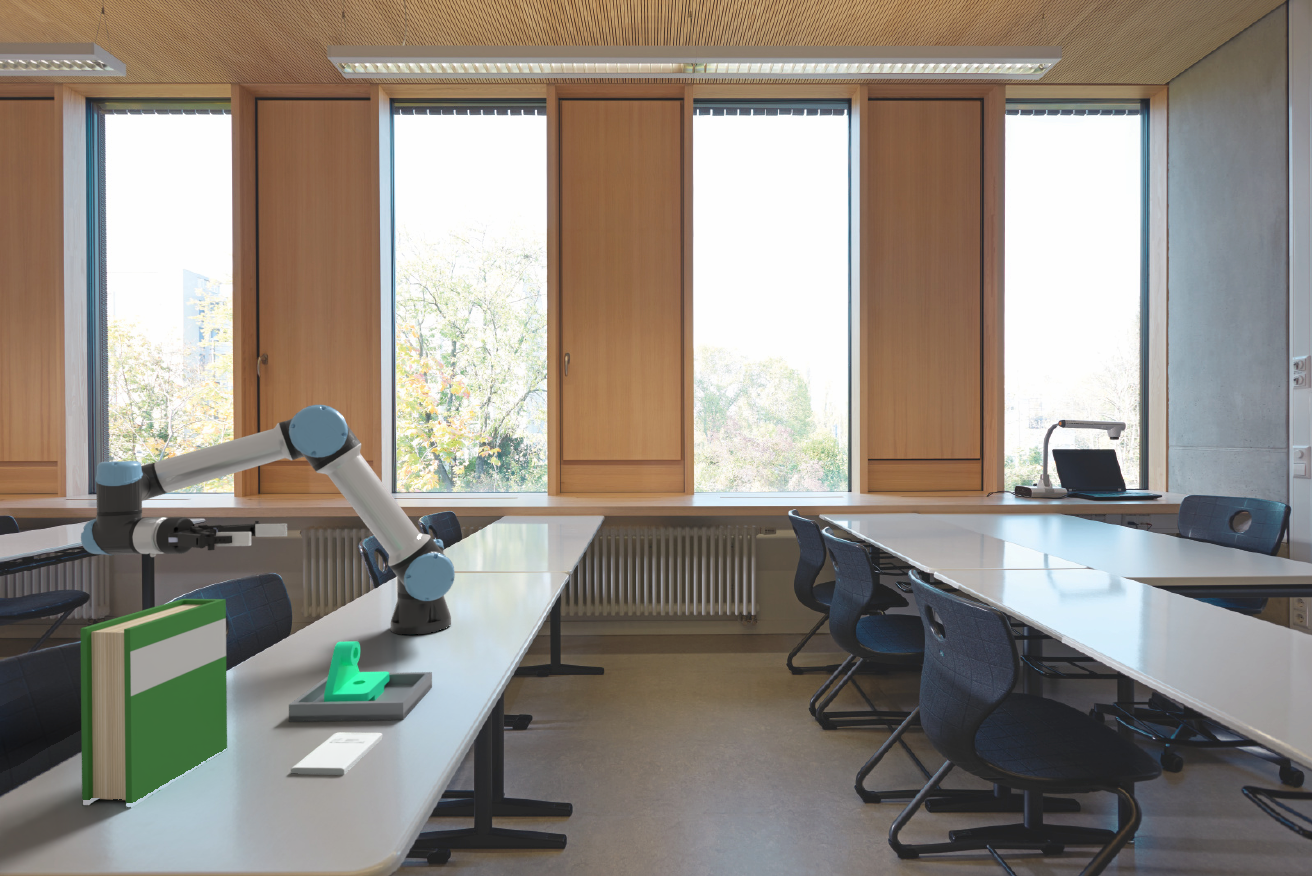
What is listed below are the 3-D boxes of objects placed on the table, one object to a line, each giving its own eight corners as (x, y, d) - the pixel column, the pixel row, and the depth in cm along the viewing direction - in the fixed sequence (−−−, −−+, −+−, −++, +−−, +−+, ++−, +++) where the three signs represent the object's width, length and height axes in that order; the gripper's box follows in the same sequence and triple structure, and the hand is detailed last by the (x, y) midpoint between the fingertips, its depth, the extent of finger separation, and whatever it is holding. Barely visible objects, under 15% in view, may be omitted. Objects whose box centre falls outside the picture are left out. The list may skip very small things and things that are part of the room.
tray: (331, 689, 137) (330, 673, 137) (432, 687, 137) (431, 672, 137) (289, 721, 121) (288, 704, 121) (403, 719, 121) (403, 702, 121)
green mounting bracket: (367, 708, 124) (366, 651, 124) (324, 709, 124) (323, 651, 124) (391, 684, 136) (390, 632, 136) (352, 685, 136) (351, 633, 136)
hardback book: (131, 808, 93) (130, 629, 93) (82, 805, 94) (80, 628, 94) (227, 749, 110) (225, 599, 111) (184, 748, 111) (183, 598, 111)
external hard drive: (290, 778, 102) (334, 741, 114) (344, 779, 101) (382, 741, 114) (290, 767, 102) (334, 731, 114) (344, 768, 101) (382, 731, 114)
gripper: (205, 544, 156) (299, 543, 157) (121, 564, 131) (233, 562, 132) (205, 511, 156) (299, 510, 157) (120, 524, 131) (232, 523, 132)
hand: (269, 534), depth 144 cm, fingers open, 13 cm apart
